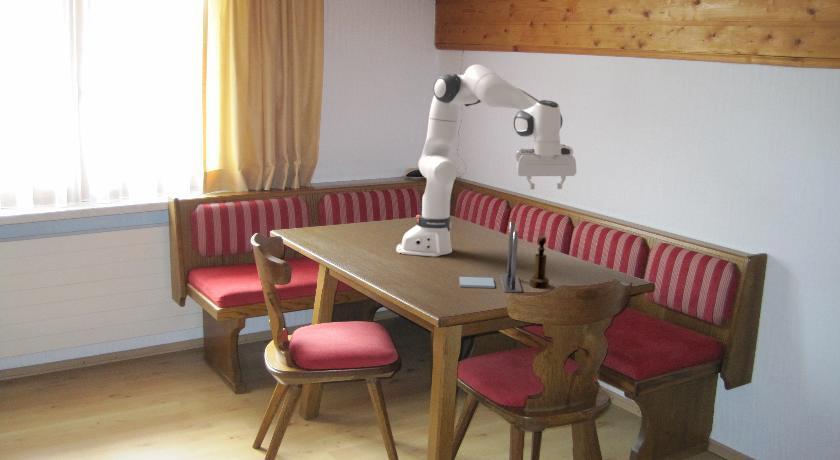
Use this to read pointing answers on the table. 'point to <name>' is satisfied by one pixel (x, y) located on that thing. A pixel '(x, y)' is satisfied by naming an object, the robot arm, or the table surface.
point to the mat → (476, 282)
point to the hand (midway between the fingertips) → (545, 188)
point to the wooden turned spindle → (540, 267)
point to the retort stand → (511, 264)
